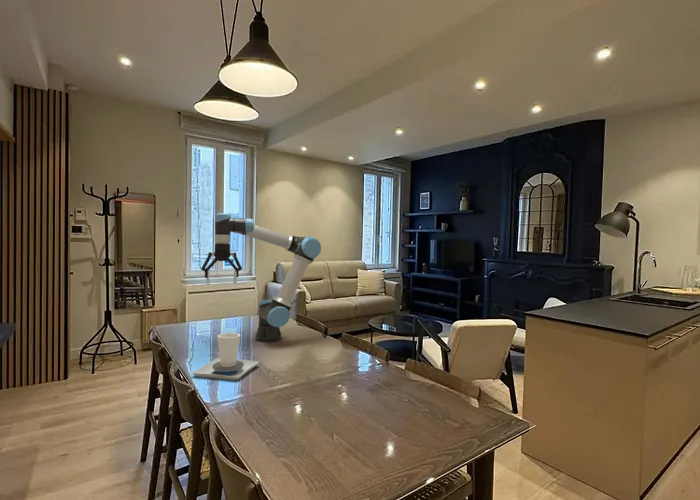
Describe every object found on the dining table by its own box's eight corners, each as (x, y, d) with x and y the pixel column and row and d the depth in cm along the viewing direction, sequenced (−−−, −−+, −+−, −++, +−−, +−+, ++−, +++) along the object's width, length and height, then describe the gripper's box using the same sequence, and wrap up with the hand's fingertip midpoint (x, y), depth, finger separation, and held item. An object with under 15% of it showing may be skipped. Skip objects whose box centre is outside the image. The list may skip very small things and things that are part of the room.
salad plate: (238, 384, 156) (238, 376, 156) (191, 380, 160) (191, 371, 159) (259, 368, 176) (260, 360, 176) (217, 364, 180) (217, 357, 180)
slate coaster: (236, 360, 177) (236, 358, 177) (248, 367, 167) (248, 365, 167) (208, 365, 169) (208, 363, 169) (219, 373, 159) (219, 371, 159)
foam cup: (242, 362, 172) (243, 333, 172) (234, 368, 163) (235, 338, 163) (222, 361, 173) (223, 332, 173) (213, 367, 164) (213, 337, 164)
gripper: (244, 243, 208) (243, 282, 208) (195, 242, 195) (194, 283, 195) (248, 243, 201) (247, 283, 202) (198, 242, 189) (197, 285, 189)
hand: (221, 284), depth 199 cm, fingers open, 13 cm apart
